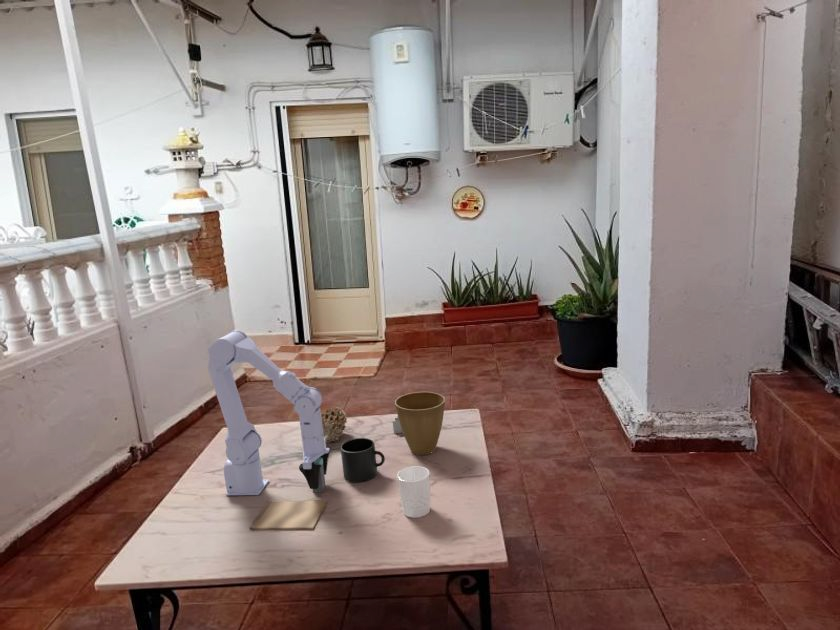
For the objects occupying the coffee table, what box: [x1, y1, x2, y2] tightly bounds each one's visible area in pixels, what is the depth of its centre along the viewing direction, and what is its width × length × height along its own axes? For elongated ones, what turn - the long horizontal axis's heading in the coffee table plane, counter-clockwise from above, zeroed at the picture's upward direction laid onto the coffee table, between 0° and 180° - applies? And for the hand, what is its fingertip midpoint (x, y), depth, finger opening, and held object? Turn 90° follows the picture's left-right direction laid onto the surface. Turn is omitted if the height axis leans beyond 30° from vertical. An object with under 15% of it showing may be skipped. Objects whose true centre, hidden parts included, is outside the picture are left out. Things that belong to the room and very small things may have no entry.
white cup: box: [396, 465, 431, 519], centre depth 146 cm, size 8×8×10 cm
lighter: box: [392, 415, 403, 435], centre depth 194 cm, size 7×2×8 cm, turn 93°
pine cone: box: [321, 406, 348, 444], centre depth 189 cm, size 22×10×10 cm, turn 173°
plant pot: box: [394, 391, 446, 456], centre depth 179 cm, size 15×15×16 cm
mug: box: [340, 437, 386, 483], centre depth 167 cm, size 9×12×9 cm
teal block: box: [312, 458, 327, 493], centre depth 161 cm, size 3×3×9 cm
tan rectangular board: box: [248, 500, 328, 531], centre depth 149 cm, size 16×12×1 cm
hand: (318, 481), depth 161 cm, fingers open, 7 cm apart
